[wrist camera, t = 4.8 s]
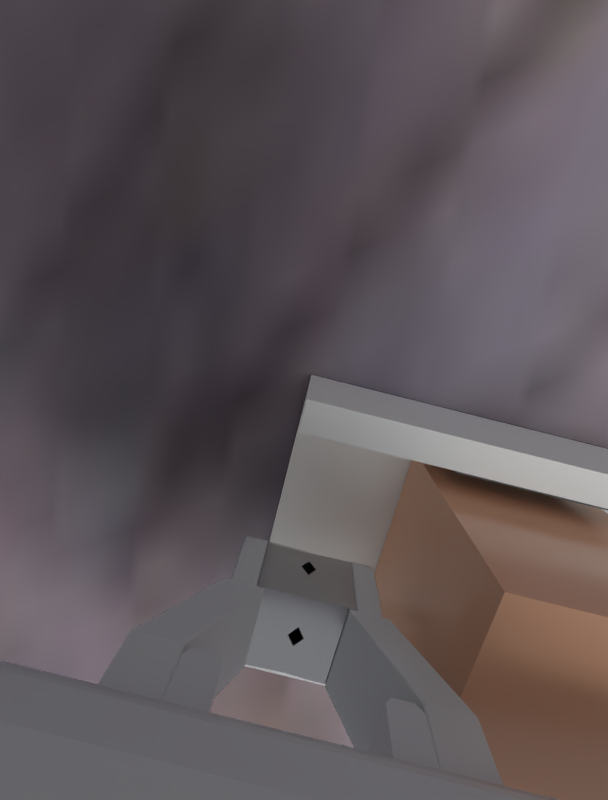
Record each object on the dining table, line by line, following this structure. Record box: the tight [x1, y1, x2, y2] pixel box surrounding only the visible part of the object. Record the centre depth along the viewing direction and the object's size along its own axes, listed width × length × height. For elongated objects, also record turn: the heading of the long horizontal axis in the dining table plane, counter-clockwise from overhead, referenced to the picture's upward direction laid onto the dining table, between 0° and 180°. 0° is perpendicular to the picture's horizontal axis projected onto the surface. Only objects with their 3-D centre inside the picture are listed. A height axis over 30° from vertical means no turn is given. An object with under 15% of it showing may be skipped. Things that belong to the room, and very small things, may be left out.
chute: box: [245, 375, 608, 686], centre depth 12 cm, size 8×16×4 cm, turn 76°
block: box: [374, 460, 608, 800], centre depth 9 cm, size 5×5×6 cm
